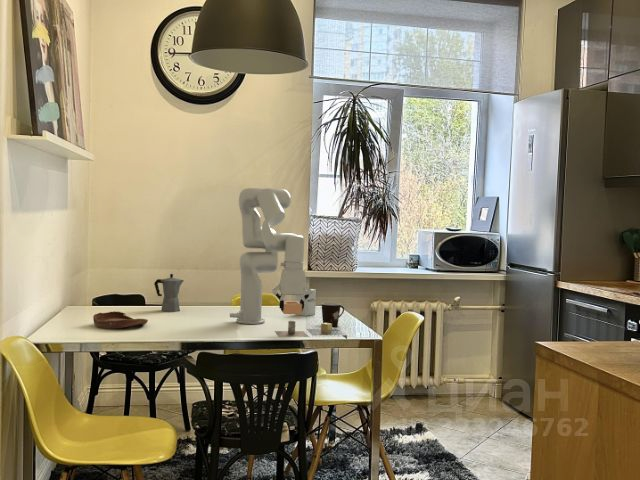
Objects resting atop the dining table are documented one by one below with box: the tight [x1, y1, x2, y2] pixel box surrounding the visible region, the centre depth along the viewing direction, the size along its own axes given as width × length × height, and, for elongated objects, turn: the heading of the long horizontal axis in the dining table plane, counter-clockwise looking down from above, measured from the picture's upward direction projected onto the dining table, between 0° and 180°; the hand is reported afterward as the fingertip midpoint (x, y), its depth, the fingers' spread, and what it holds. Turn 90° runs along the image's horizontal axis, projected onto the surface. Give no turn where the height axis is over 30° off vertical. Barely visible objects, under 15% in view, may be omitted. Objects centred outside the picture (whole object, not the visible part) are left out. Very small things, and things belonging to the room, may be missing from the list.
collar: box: [281, 300, 302, 315], centre depth 266 cm, size 7×7×4 cm
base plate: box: [306, 322, 348, 340], centre depth 273 cm, size 14×14×5 cm
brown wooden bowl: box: [92, 311, 149, 329], centre depth 277 cm, size 22×20×5 cm
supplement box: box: [295, 288, 317, 317], centre depth 329 cm, size 7×7×13 cm
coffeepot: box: [154, 273, 184, 313], centre depth 325 cm, size 15×9×18 cm, turn 129°
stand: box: [274, 320, 309, 338], centre depth 266 cm, size 12×12×6 cm
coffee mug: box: [320, 302, 345, 328], centre depth 297 cm, size 12×9×10 cm
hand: (291, 310), depth 266 cm, fingers closed on collar, 7 cm apart
